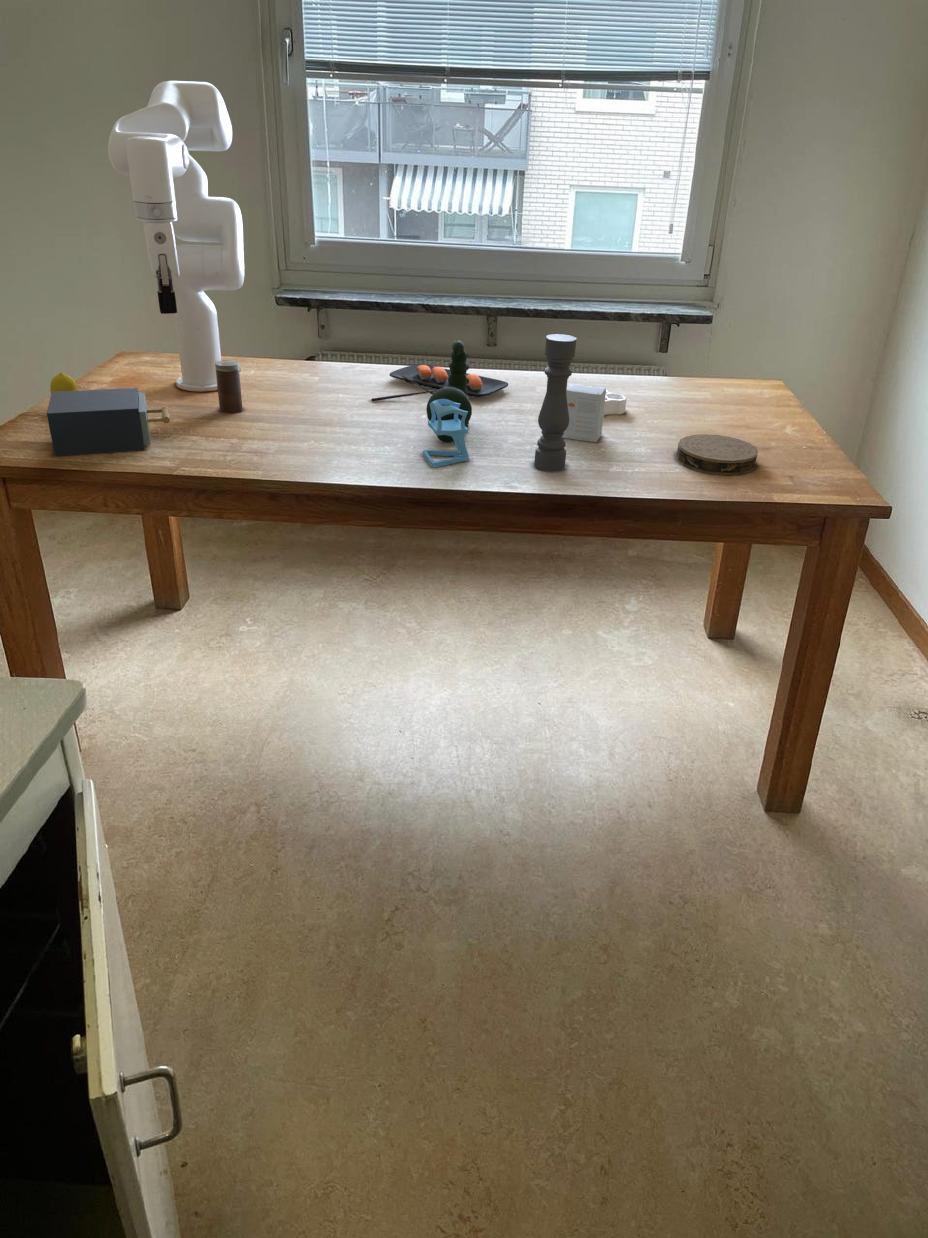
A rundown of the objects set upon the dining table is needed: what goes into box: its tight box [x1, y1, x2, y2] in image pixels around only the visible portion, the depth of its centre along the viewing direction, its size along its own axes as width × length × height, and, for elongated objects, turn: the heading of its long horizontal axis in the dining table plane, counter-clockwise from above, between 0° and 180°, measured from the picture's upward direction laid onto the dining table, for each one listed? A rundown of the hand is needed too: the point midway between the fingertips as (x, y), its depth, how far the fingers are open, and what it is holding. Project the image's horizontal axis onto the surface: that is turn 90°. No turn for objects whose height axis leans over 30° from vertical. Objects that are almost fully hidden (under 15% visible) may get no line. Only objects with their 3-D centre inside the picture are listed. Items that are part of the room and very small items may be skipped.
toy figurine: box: [426, 340, 473, 444], centre depth 189 cm, size 9×19×25 cm
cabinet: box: [46, 387, 145, 457], centre depth 178 cm, size 16×14×8 cm
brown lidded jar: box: [215, 359, 244, 414], centre depth 198 cm, size 5×5×10 cm
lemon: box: [49, 372, 79, 394], centre depth 195 cm, size 6×6×8 cm
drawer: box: [138, 392, 171, 446], centre depth 179 cm, size 20×13×7 cm
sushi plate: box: [370, 363, 509, 402], centre depth 217 cm, size 29×30×4 cm
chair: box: [422, 399, 470, 468], centre depth 176 cm, size 8×8×12 cm
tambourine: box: [676, 433, 759, 476], centre depth 183 cm, size 16×16×3 cm
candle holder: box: [533, 333, 577, 472], centre depth 172 cm, size 6×6×25 cm
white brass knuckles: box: [603, 388, 627, 416], centre depth 212 cm, size 3×18×15 cm
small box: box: [562, 383, 607, 443], centre depth 192 cm, size 8×6×10 cm
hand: (168, 312), depth 177 cm, fingers closed
